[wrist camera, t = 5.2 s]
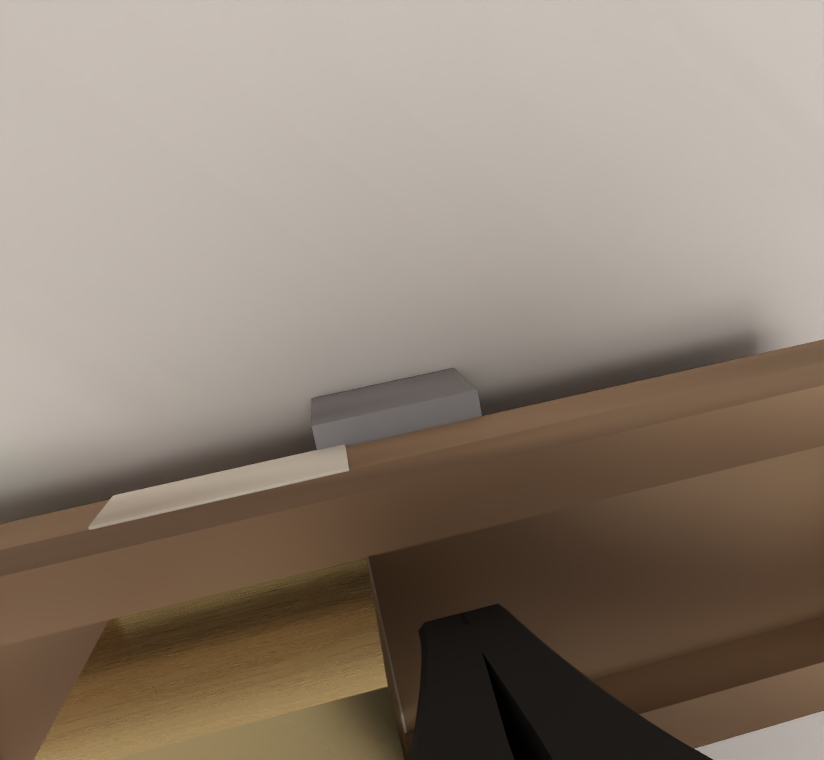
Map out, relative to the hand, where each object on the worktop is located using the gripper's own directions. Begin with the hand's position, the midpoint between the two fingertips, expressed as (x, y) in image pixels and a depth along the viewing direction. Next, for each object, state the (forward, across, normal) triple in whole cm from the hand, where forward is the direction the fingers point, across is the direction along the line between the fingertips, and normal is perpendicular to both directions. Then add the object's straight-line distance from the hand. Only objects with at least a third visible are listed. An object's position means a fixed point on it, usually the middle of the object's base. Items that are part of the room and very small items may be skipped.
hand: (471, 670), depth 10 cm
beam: (+5, 0, 0) cm, 5 cm away
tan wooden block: (+1, +3, 0) cm, 3 cm away
